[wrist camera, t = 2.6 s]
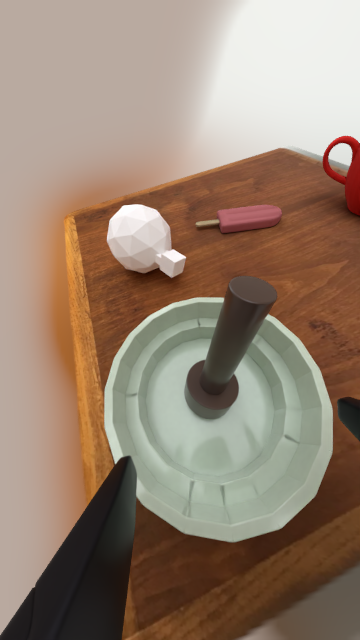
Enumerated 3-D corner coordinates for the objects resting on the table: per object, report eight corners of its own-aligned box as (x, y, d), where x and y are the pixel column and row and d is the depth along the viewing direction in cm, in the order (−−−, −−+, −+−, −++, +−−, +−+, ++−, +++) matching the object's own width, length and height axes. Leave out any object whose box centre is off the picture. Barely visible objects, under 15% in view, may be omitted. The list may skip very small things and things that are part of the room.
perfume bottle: (98, 262, 28) (152, 305, 24) (87, 193, 21) (160, 238, 17) (140, 248, 33) (190, 282, 29) (143, 190, 26) (208, 224, 23)
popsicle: (194, 212, 34) (276, 201, 33) (194, 221, 35) (273, 210, 34) (197, 228, 31) (287, 217, 30) (197, 237, 32) (283, 226, 31)
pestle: (241, 400, 17) (324, 299, 8) (204, 431, 15) (262, 340, 6) (209, 364, 19) (247, 257, 10) (175, 387, 17) (186, 277, 8)
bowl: (330, 472, 14) (403, 494, 9) (139, 526, 13) (102, 582, 8) (247, 316, 22) (261, 281, 17) (127, 345, 22) (105, 319, 17)
